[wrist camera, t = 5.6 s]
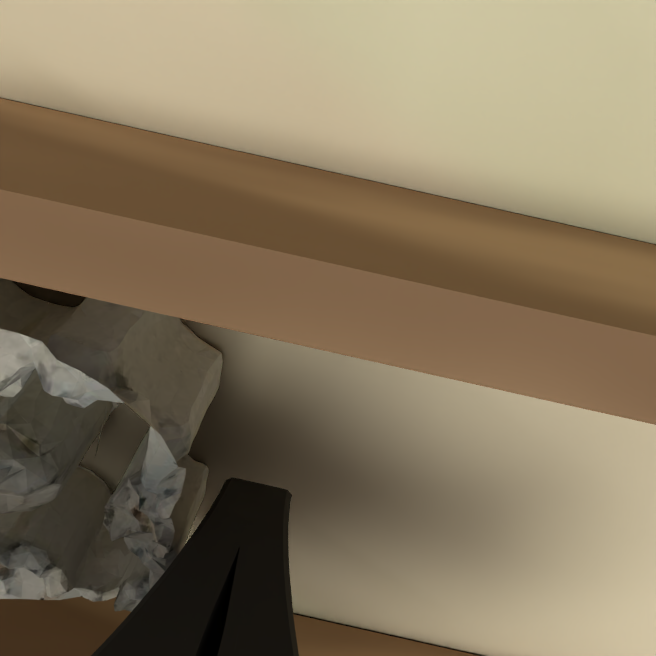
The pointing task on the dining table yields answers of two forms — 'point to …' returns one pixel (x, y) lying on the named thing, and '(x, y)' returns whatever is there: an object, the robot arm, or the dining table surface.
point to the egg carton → (79, 433)
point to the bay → (315, 290)
